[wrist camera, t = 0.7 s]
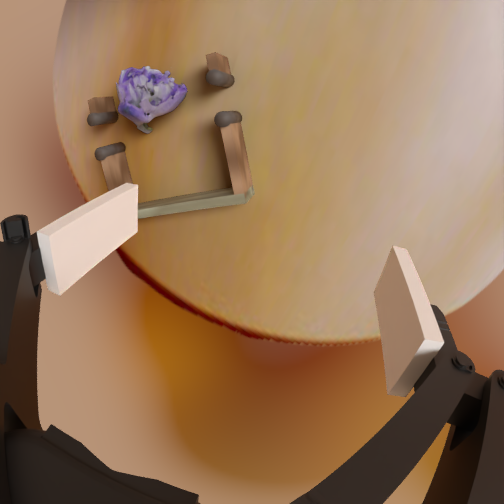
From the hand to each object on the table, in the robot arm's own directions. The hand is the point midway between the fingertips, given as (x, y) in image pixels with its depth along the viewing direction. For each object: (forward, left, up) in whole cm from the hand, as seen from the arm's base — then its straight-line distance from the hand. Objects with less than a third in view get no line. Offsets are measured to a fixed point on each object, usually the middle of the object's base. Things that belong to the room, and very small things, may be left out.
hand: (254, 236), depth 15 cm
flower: (-11, -16, -25) cm, 32 cm away
